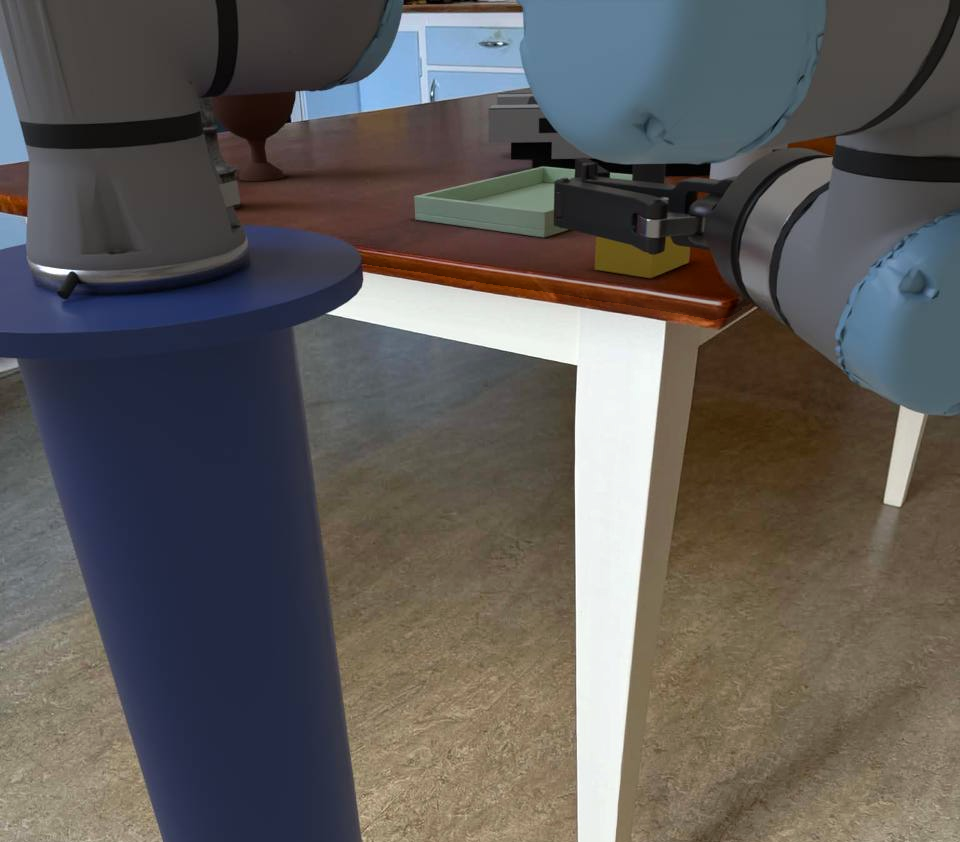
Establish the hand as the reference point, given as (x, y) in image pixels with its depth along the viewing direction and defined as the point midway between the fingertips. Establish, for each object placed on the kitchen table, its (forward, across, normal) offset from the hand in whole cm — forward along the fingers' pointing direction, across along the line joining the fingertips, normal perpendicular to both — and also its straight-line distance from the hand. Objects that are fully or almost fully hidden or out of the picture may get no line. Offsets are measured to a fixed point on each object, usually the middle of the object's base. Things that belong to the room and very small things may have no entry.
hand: (678, 175), depth 64 cm
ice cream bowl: (+60, -33, -7) cm, 69 cm away
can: (+37, +19, -8) cm, 42 cm away
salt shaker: (+41, -36, -7) cm, 55 cm away
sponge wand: (+7, 0, -7) cm, 10 cm away
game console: (+59, +12, -7) cm, 60 cm away
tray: (+31, -3, -7) cm, 32 cm away
